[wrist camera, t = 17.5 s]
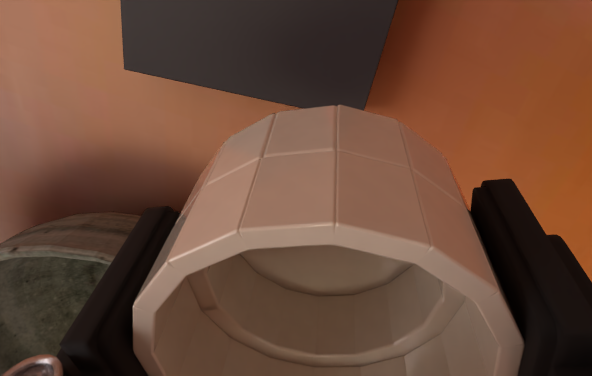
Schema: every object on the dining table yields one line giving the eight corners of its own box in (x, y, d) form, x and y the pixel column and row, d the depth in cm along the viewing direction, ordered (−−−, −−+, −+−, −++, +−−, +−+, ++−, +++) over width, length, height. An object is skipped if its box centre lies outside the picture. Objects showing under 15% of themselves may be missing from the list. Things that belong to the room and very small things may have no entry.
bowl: (-29, 216, 32) (-157, 324, 24) (178, 100, 25) (98, 197, 17) (146, 363, 42) (98, 476, 33) (332, 310, 34) (330, 437, 26)
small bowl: (166, 115, 10) (61, 241, 6) (467, 78, 9) (559, 207, 5) (235, 304, 14) (196, 454, 10) (452, 296, 12) (498, 462, 9)
